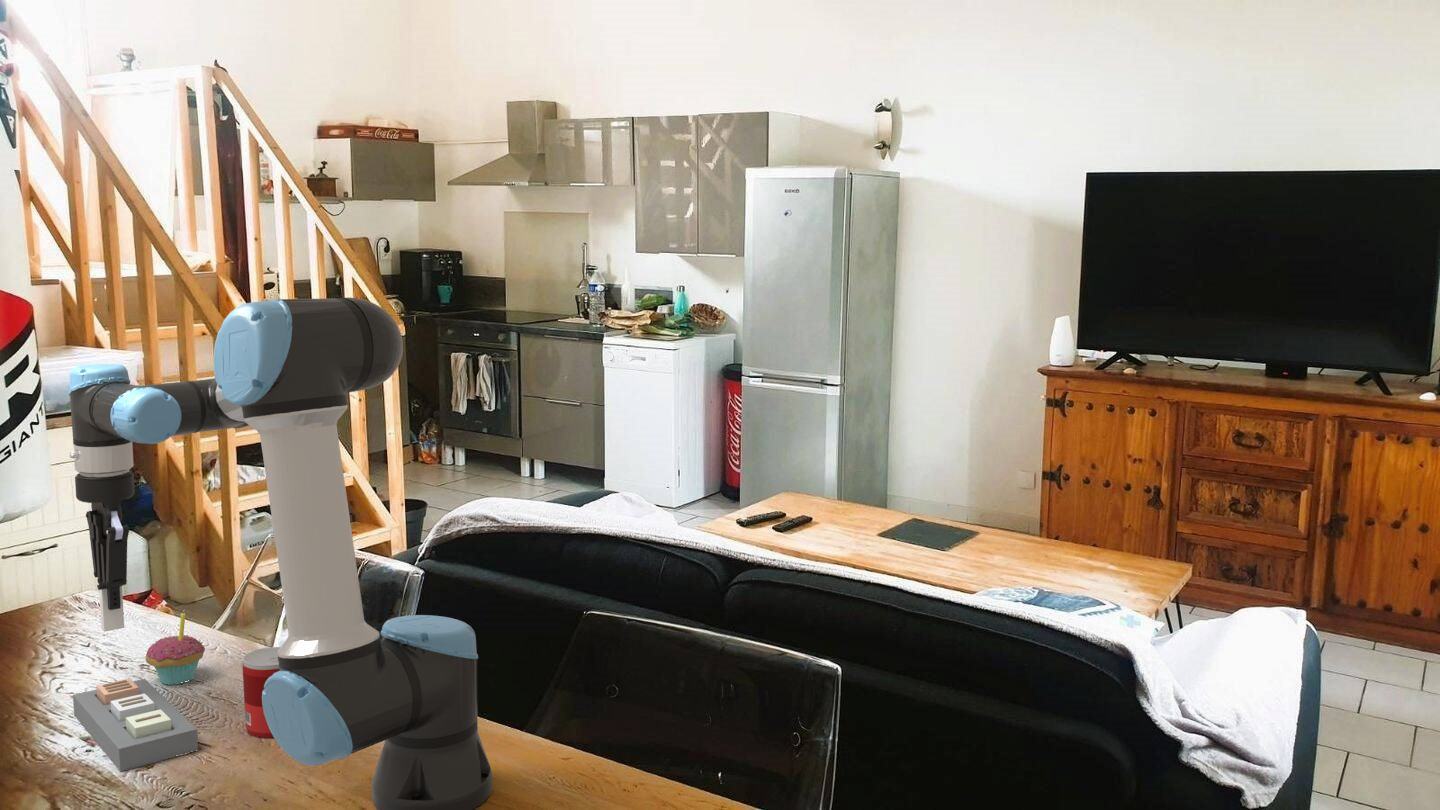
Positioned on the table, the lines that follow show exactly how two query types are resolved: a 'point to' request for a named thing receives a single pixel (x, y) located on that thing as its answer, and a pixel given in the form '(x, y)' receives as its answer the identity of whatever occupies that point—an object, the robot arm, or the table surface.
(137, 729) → the tile
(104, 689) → the tile
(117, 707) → the tile
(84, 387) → the robot arm
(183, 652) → the cupcake
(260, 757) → the table surface
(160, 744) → the keypad
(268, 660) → the canned food
